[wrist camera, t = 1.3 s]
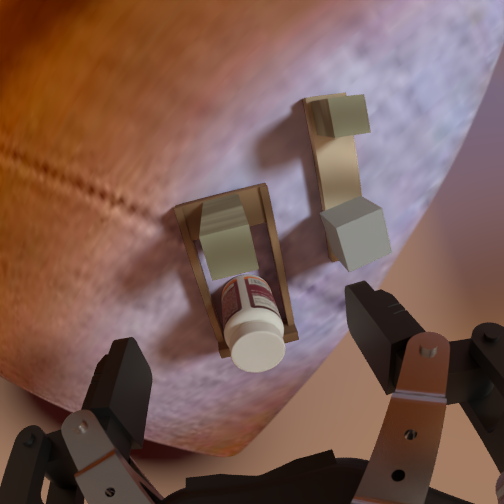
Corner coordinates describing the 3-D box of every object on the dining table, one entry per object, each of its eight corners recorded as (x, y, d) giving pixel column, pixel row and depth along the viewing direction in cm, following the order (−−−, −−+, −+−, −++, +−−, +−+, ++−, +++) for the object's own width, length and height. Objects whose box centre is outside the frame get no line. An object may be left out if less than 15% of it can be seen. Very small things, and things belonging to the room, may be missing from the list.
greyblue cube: (319, 213, 27) (336, 227, 23) (360, 195, 27) (382, 208, 23) (332, 252, 28) (349, 272, 25) (371, 235, 28) (391, 252, 25)
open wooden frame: (175, 205, 26) (158, 245, 18) (264, 182, 26) (289, 212, 18) (220, 342, 32) (225, 410, 23) (293, 325, 32) (317, 388, 24)
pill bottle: (230, 322, 31) (237, 383, 24) (213, 282, 29) (215, 339, 22) (277, 308, 31) (296, 365, 23) (264, 266, 29) (282, 318, 22)
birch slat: (302, 98, 24) (321, 94, 19) (341, 93, 24) (367, 89, 19) (328, 257, 30) (348, 282, 25) (362, 248, 30) (386, 271, 25)
